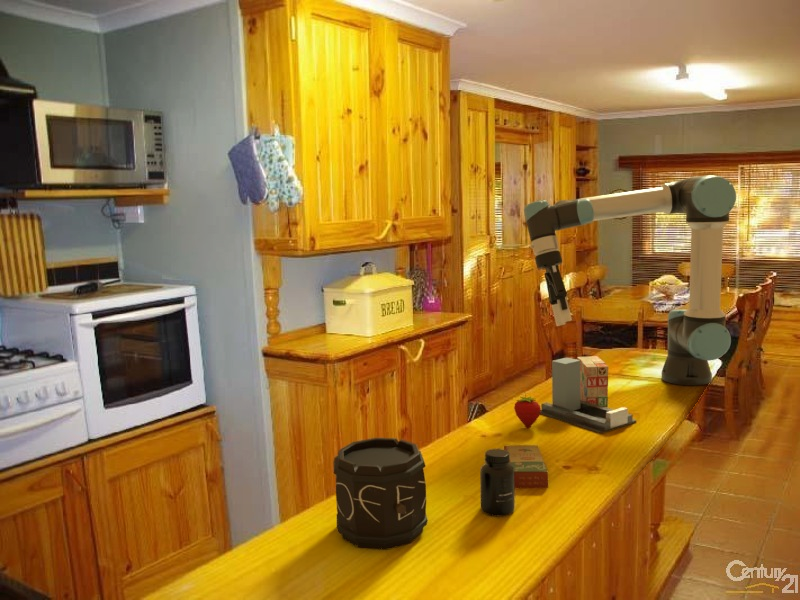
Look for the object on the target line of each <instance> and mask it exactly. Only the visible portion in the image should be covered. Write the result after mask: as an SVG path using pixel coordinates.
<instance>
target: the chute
mask: <svg viewBox="0 0 800 600" xmlns="http://www.w3.org/2000/svg"><path fill="white" fill-rule="evenodd" d="M580 402H581V409H577V410H574V411H573V410H570V409H567V408H563V407H560V406H557V405H553V403H550V402H543V403H540V404H541V405H540V408H541V411H540V415H542V416H545V417H549V418H550V419H551V418H552V419H555V420H559V421H560V422H564V423H567V424H570V425H573V426H576V427H579V428H583V429H586V430H588V431H591V432H595V433H597V434H605V433H608V432H611V431H615V430H617V429H620V428H623V427H626V426H629V424H630V425H632V424H631V423H633V424H636V423H637V420H636V419H633V414H631V413H629V411H628V410H629V408H628V407H624V406H623V407H622V406H621V407H619V408H616V409H613V408H609V407H608V406H605V407H603V406H600V405H596V404H592V403H589V402H585V401H582V400H581V399H580ZM635 422H636V423H635ZM622 426H623V427H622Z"/></svg>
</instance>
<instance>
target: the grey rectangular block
mask: <svg viewBox="0 0 800 600" xmlns="http://www.w3.org/2000/svg"><path fill="white" fill-rule="evenodd" d="M576 359H577V358H576ZM576 359H575V358H571V357H563V358H557V359H554V360H552V362H551V365H552V366H551V381H552V382H551V384H552V387H551V388H552V397H551V398H552V402H551V403H552V404H553V405H557V406H560V407H563V408H567V409H570V410H573V411H574V410H577V409H581V402H580V400H581V399H580V360H576Z"/></svg>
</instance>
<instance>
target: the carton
mask: <svg viewBox="0 0 800 600" xmlns="http://www.w3.org/2000/svg"><path fill="white" fill-rule="evenodd" d="M503 450H506V451H508V452H509V459H510V462H509V464H510V465H512V467H513V468H514V471H515V489H543V488H549V470H548V468H547V465H546V463H545V461H544V458H543V455H542V453H541V451H540V448H539V445H535V444H524V445H523V444H521V445H520V444H519V445H518V444H517V445H516V444H513V445H510V444H508V445H503Z"/></svg>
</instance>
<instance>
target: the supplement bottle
mask: <svg viewBox="0 0 800 600" xmlns="http://www.w3.org/2000/svg"><path fill="white" fill-rule="evenodd" d="M484 462H485V463H484V464H483V465H482V466H480V470H479V471H480V476H479V478H480V480H479V482H480V491H479V492H480V495H479V496H480V509H481V511H482V512H483V513H484V514H487V515H489V516H493V517H503V516H508V515H511V514H512V513H513V512H514V511H515V507H516V505H515V503H516V502H515V501H516V500H515V499H516V498H515V497H516V495H515V494H516V492H515V490H516V488H515V471H514V468H513V467H512V465H510V464H509V462H510V459H509V452H508V451H506V450H504V448H492V449H491V448H490V449H488V450H486V451H485V453H484Z"/></svg>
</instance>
